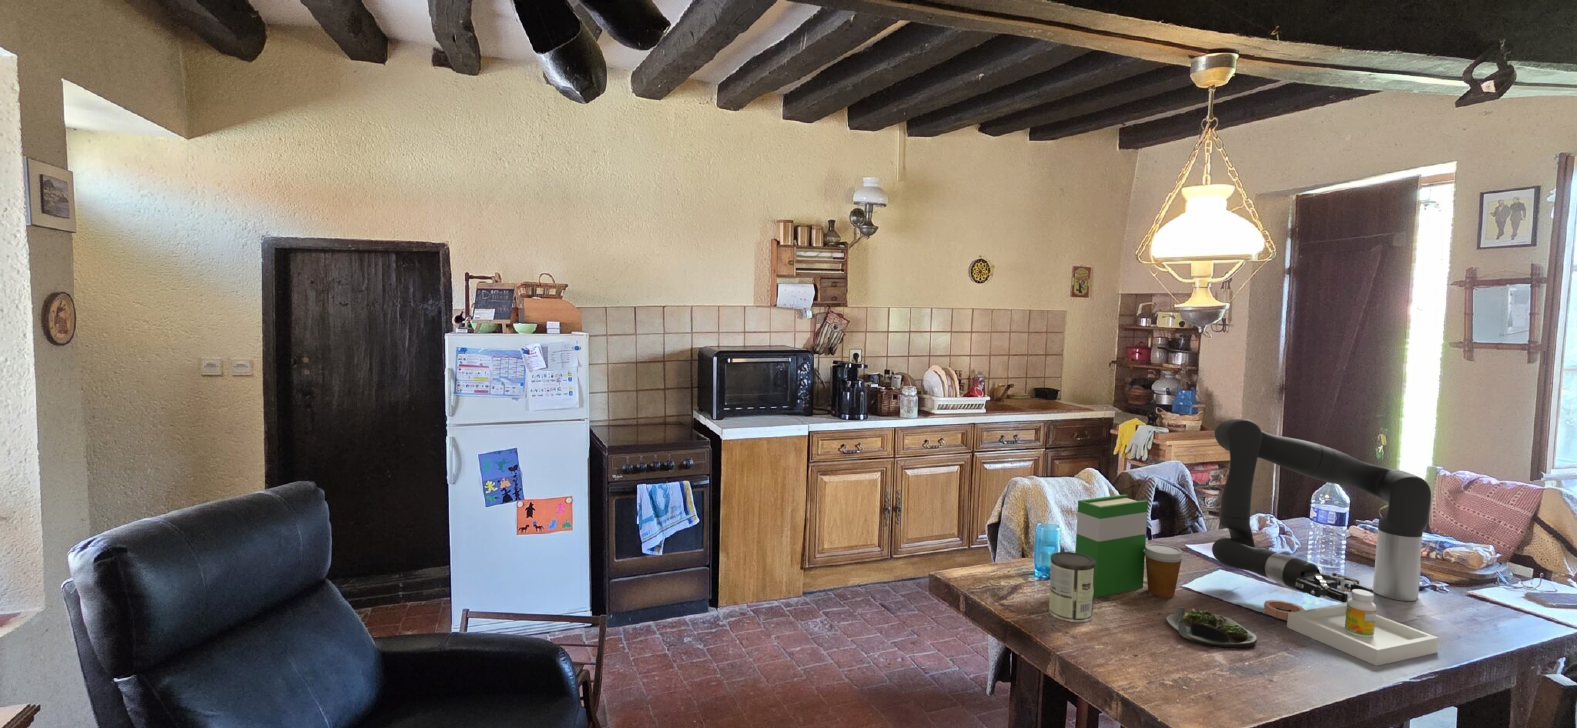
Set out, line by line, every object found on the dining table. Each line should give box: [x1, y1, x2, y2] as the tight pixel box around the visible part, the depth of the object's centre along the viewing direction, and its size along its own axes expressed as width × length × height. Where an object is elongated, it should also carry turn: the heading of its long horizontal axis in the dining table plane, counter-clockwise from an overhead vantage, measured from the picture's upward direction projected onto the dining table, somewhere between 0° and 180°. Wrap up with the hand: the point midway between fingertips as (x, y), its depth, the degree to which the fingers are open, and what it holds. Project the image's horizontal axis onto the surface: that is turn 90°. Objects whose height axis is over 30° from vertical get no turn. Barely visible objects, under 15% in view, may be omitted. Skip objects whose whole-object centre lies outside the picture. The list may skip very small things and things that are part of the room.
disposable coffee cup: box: [1144, 543, 1185, 598], centre depth 199 cm, size 10×10×12 cm
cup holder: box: [1263, 599, 1306, 621], centre depth 187 cm, size 8×8×2 cm
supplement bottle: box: [1345, 589, 1377, 638], centre depth 173 cm, size 5×5×10 cm
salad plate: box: [1166, 606, 1258, 650], centre depth 177 cm, size 19×18×5 cm
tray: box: [1286, 602, 1439, 667], centre depth 173 cm, size 20×20×4 cm
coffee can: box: [1048, 551, 1096, 624], centre depth 185 cm, size 10×10×14 cm
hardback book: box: [1074, 494, 1149, 599], centre depth 202 cm, size 18×7×24 cm, turn 115°
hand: (1359, 596), depth 173 cm, fingers open, 8 cm apart
